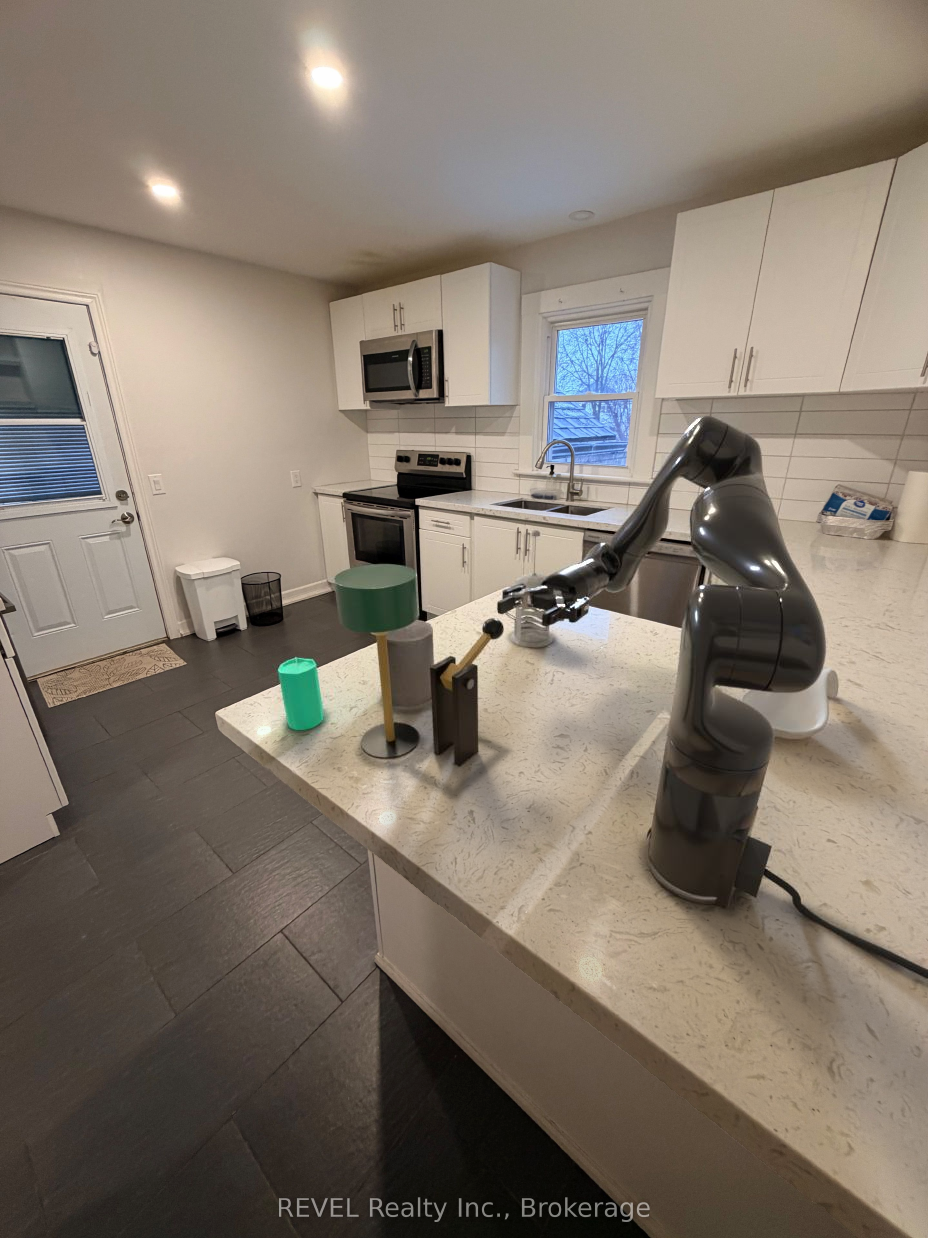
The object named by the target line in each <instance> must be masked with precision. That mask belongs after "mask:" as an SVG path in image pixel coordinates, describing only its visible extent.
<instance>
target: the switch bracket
mask: <svg viewBox="0 0 928 1238" xmlns="http://www.w3.org/2000/svg"><path fill="white" fill-rule="evenodd" d="M456 658H457V657H456V656H453V655H449V656H446V657H445V658H444V659H441V660H440V661H438V662H436V663H434V665H433V666H431V667H430V681H431V699H430V700H431V701H430V702H431V716H432V718H431V719H432V737H433V738H432V740H433V754H434V755H436V756H438V757H440V756H441V755H442V754H444V753H445V752H447V751H448V750H449V749H451V748H452V747H453V757H454V759H453V760H454V761H453V763H454V765H455V766H457V767H459V768H461V767H462V766H463V765H464V764H465V763H467V762H468V761H469V760H470V759H472V758H473V757H474V756H475V755H477V754H478V753H479V676H478V675H479V673H478V671H479V667H478V665H477V664H475V663H472V664H471V665H469V666H467V667H466V668H464V669H462V670H461V671H459V672H457V673H456V674H454V675H452V690H449V689H447V688H445V686H444V684H443V682H442V680H441V678H440V676H441V675H442V674H443V673H444V671H445V670H446V669H447V668H448V667H449V665H450V664H451V663H453V664H456V665H457V662H456V661H457V660H456Z"/></svg>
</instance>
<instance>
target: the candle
mask: <svg viewBox="0 0 928 1238" xmlns="http://www.w3.org/2000/svg"><path fill="white" fill-rule="evenodd" d="M277 674H278V679H279V685H280V690H281V696H282V701H283V707H284V711H285V717H286V723H287V724H288V727H289V728H290V729H293V730H295V731H305V730H306V731H307V730H310V729H313V728H315V727H316V728H317V726H319V725H320V724H321V723H322V722H323V720H324V718H325V714H324V707H323V699H322V693H321V686H320V679H319V673H318V665H317V663H316V662H315V659H313V658H304V657H297V656H295V657H294V658H290V659H288V660H286V661H284V662H283V663H280V665H279V666H278V669H277Z"/></svg>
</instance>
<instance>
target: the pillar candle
mask: <svg viewBox="0 0 928 1238" xmlns="http://www.w3.org/2000/svg"><path fill="white" fill-rule="evenodd" d="M386 640H387V651H388V663H389V675H390V686H391V698H392V706H398V707H413V706H414V707H415V706H419V705H422V704H424V703H427V702H428V701H430V700H431V681H430V667H431V666H433V665H434V664H435V654H434V652H435V651H434V628H433V626H432V624H431V622H427V621H424V620H419V619H417V620H416V621H415V622H413V623H412V624H410V625H408V626H406V627H403V628H400V629H397V630H392V631H391V632H389V633H388V634H386Z"/></svg>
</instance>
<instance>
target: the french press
mask: <svg viewBox="0 0 928 1238" xmlns="http://www.w3.org/2000/svg"><path fill="white" fill-rule="evenodd" d="M540 536H541V532H540V530H537V529H534V530H532V532H531V537H534V555H533V556H534V557H533V573H532V572H531V573H527V574H522V575H520V576H518V577H517V578H516V579H515V584H516V585H518V584H520V583H524V584H526V588H527V589H529V588H535V587H538V586H540V585H541V583H542V582H543V580H544V579H545V578H546V577H547V576H548V575H547V576H546V575H544V574H541V573H536V548H537V546H536V545H537V537H540ZM520 602H521V599H520V600H518V601H516V603H520ZM527 604H531V602H530V596H527ZM544 612H546V610H543V609H542V610H539V609H531V610H524V609H523V608H522V607H521V608H515V615H513V614H511V613H509V611H508V612H506V613H505V615H506V616H507V617H508V618H509V619H511V620H514V628H513V629H514V630H513V631H514V632H513V633H512V634H511V635H510V638H509V639H510V640H511V642H512V643H513V644H516V645H517V646H521V647H525V648H542V647H546V646H549V645H550V644H552V643H553V642H554V637H553V635H551V634H550V625H549V626H548V627H545V626H542V615H543V613H544ZM536 618H537V619H536ZM538 619H539V620H538ZM540 620H541V621H540ZM540 625H541V626H540Z"/></svg>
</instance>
